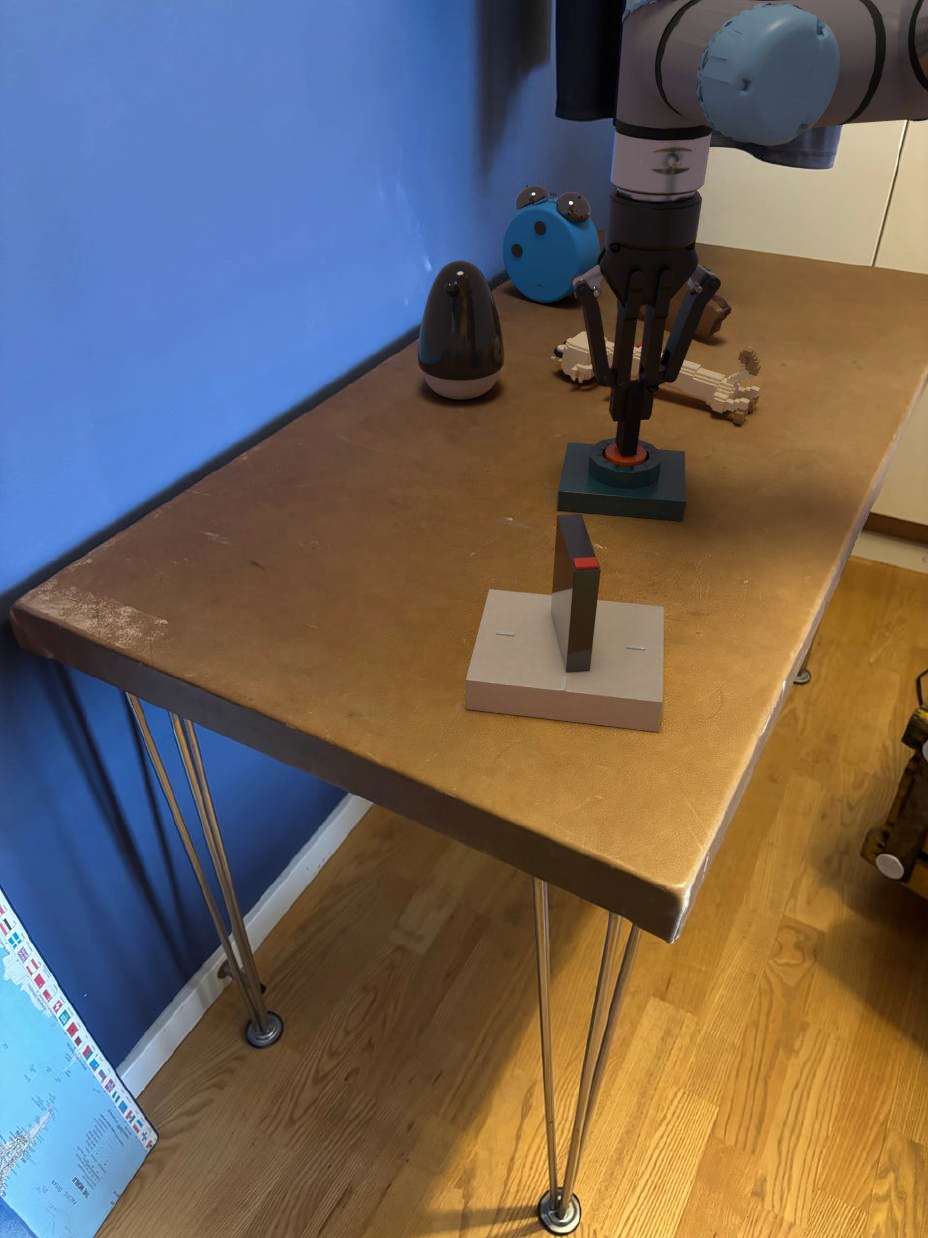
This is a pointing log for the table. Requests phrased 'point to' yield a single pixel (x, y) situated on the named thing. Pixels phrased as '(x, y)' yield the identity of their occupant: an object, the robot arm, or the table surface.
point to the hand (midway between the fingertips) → (625, 448)
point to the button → (616, 458)
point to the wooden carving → (710, 318)
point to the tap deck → (534, 670)
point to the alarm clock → (549, 244)
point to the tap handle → (574, 592)
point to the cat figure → (689, 380)
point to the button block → (623, 483)
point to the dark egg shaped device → (460, 334)
